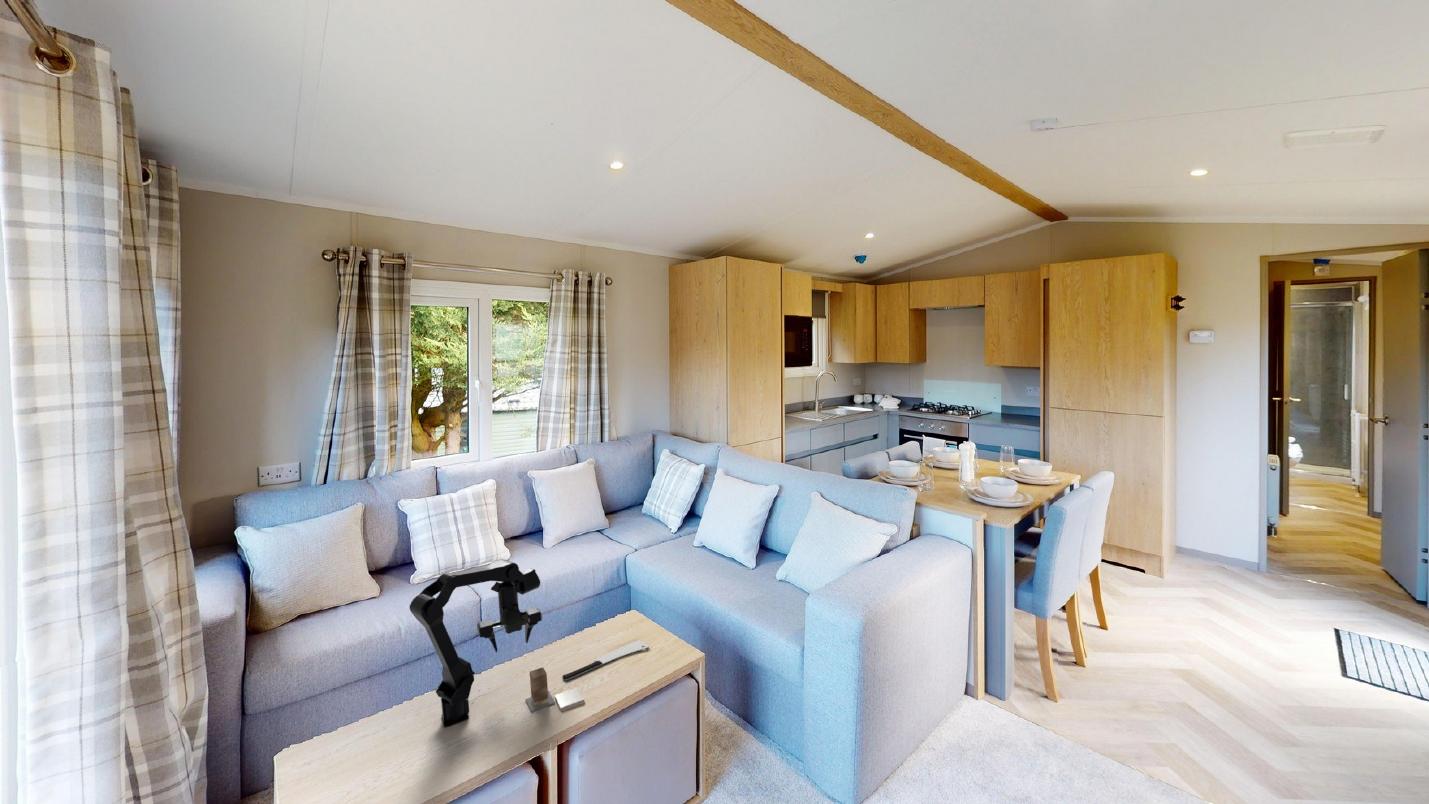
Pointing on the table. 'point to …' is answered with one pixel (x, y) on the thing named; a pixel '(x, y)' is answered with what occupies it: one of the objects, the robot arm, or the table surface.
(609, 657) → the kitchen cleaver
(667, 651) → the table surface
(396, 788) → the table surface
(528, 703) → the pad
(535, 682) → the wooden post stub
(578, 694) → the tile
